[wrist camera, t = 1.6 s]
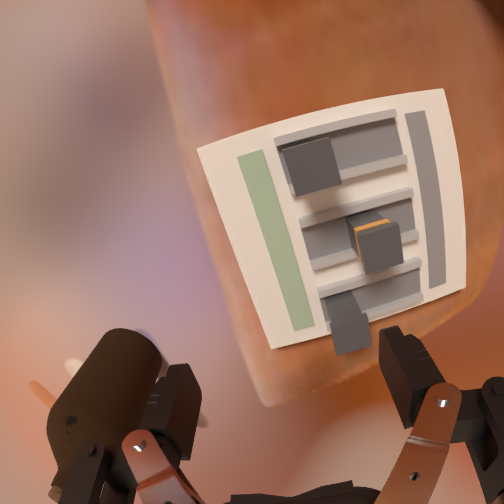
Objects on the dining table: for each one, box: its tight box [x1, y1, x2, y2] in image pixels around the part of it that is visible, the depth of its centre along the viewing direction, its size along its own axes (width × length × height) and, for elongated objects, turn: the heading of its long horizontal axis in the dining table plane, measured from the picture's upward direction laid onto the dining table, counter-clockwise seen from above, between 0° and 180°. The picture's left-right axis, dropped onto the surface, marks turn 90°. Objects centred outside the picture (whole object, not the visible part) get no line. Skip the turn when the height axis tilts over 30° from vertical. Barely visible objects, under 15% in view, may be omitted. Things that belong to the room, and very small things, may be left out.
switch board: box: [197, 88, 466, 356], centre depth 28 cm, size 26×24×8 cm
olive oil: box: [47, 328, 161, 503], centre depth 28 cm, size 11×11×25 cm
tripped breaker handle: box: [346, 210, 404, 275], centre depth 26 cm, size 4×4×6 cm
